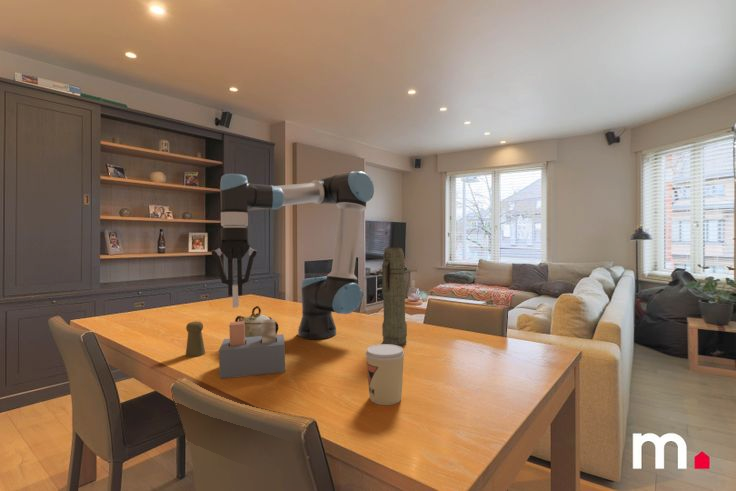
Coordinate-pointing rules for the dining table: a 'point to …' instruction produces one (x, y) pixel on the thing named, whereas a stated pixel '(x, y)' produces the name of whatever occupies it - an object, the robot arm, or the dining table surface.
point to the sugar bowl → (254, 323)
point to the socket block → (252, 357)
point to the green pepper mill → (194, 339)
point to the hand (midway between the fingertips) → (235, 306)
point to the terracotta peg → (237, 333)
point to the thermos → (394, 297)
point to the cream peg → (268, 331)
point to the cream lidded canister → (385, 373)
